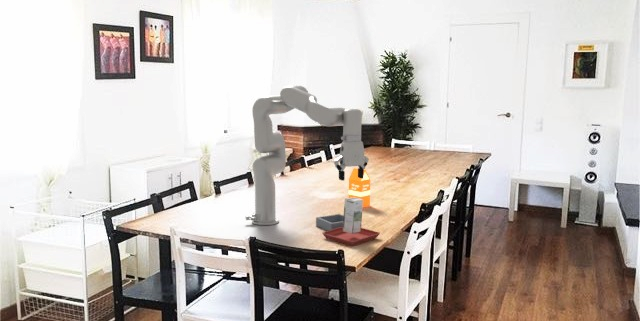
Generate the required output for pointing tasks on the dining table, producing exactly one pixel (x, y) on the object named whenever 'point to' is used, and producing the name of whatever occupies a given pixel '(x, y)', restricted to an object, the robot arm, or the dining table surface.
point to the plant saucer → (350, 236)
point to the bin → (330, 222)
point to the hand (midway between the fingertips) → (351, 179)
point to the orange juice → (360, 187)
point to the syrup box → (352, 215)
